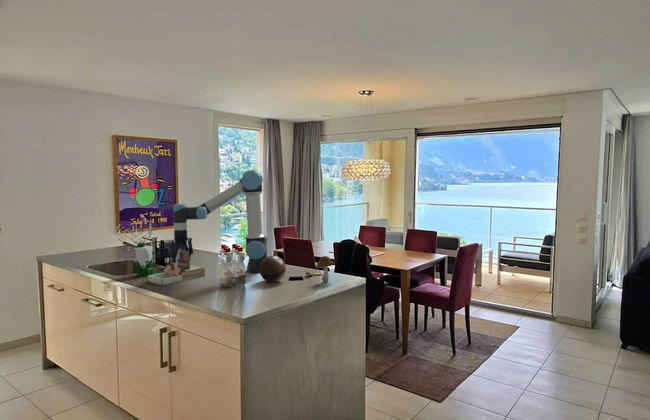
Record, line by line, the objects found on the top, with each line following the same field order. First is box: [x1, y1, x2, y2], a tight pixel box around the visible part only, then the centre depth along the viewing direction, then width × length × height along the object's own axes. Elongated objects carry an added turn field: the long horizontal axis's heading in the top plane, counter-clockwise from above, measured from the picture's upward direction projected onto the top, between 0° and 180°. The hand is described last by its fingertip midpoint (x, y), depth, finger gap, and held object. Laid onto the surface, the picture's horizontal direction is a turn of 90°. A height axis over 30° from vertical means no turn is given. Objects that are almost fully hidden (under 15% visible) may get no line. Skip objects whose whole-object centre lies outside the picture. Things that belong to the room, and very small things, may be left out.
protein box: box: [163, 239, 188, 264], centre depth 305 cm, size 10×15×16 cm
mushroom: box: [316, 255, 335, 283], centre depth 238 cm, size 9×11×15 cm
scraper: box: [169, 250, 191, 270], centre depth 254 cm, size 16×7×10 cm, turn 50°
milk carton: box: [134, 243, 154, 278], centre depth 262 cm, size 9×9×20 cm
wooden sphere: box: [259, 255, 287, 283], centre depth 240 cm, size 15×15×15 cm
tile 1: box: [172, 268, 181, 276], centre depth 247 cm, size 4×4×2 cm
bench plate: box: [169, 264, 206, 282], centre depth 257 cm, size 15×16×5 cm
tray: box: [147, 271, 184, 287], centre depth 246 cm, size 16×13×4 cm
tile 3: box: [163, 264, 174, 274], centre depth 253 cm, size 4×4×2 cm
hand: (182, 266), depth 255 cm, fingers closed on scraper, 7 cm apart
